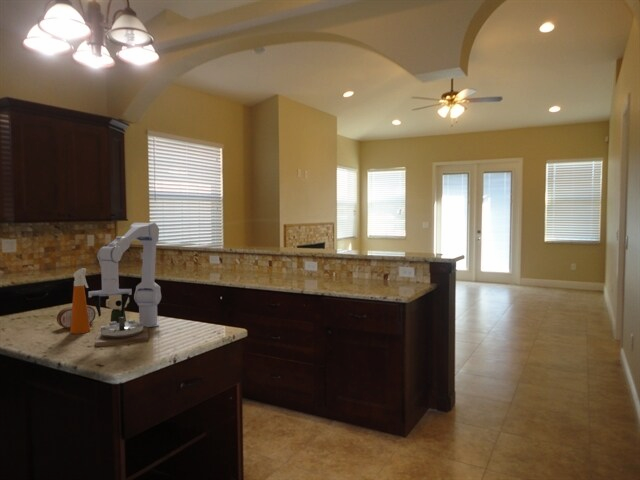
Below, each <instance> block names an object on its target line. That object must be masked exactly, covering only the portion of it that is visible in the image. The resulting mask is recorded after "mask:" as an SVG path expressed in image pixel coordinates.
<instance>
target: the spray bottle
mask: <svg viewBox="0 0 640 480" xmlns="http://www.w3.org/2000/svg"><path fill="white" fill-rule="evenodd" d="M86 272H87V268H85V267H84V268H83V267H81V268H79V269H78V270H76V271H74V273H73V278H74V281H73V292H72V304H71V305H72V306H71V307H72V318H71V328H70V333H71V334H73V335H75V334H76V335H79V334H86V333H88V332H90V331H91V326H90V324H89V318H88V311H87V305H88V304H87V297H86V291H85V288H86V289H88V288H90V287H89V285H88V283H87V279H86Z"/></svg>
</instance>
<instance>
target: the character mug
mask: <svg viewBox="0 0 640 480" xmlns="http://www.w3.org/2000/svg"><path fill="white" fill-rule="evenodd" d="M115 294H116V293H115ZM121 296H122V295H114V296H108V299H106V300H105V306H106V308H109V309H111V314H110V322H114V321H116V322H117V323H119V317H125V322H127V319H126V318H127V317H126V312H125V310H124V313H123V315H121V309H122V298H121ZM129 303H130V296H129V297H128V300H127V302H126V304H125V308H127V307H128V304H129ZM110 322H109V323H110Z"/></svg>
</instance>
